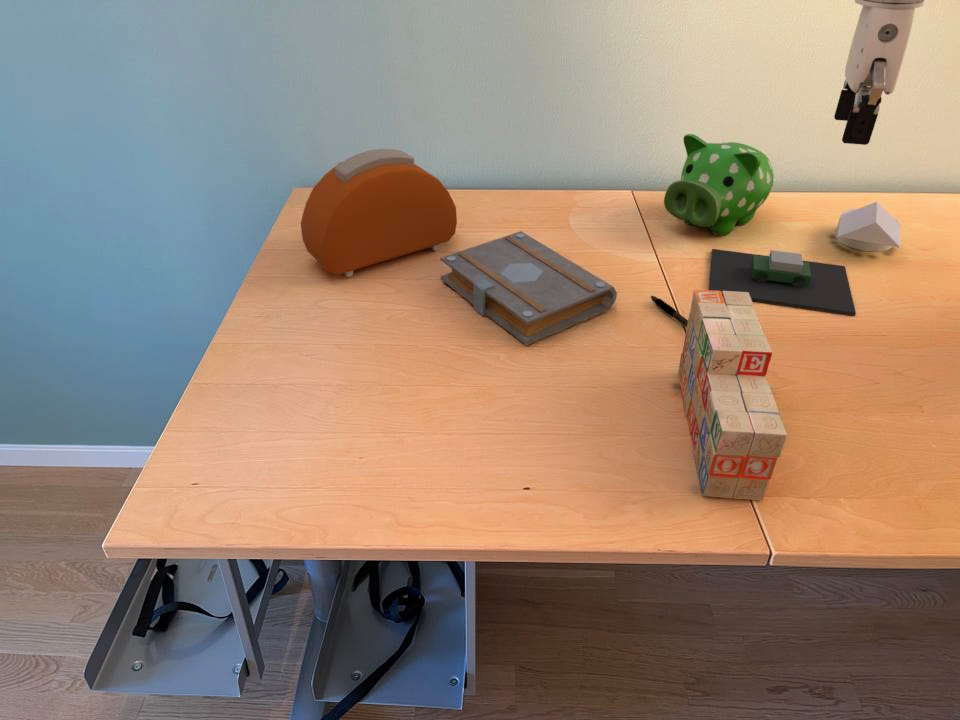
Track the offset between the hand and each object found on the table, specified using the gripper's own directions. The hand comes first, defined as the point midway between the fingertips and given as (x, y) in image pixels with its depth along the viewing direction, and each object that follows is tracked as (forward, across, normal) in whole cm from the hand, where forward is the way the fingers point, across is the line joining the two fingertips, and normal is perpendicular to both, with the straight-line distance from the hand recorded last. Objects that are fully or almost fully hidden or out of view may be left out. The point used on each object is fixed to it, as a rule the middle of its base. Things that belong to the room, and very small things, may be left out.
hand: (850, 131), depth 95 cm
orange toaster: (+21, -12, +66) cm, 70 cm away
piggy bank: (+22, +14, +14) cm, 30 cm away
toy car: (+20, -2, +5) cm, 20 cm away
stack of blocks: (+22, -41, +13) cm, 48 cm away
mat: (+22, -4, +4) cm, 23 cm away
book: (+22, -19, +40) cm, 50 cm away
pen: (+22, -20, +18) cm, 34 cm away
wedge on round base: (+22, +13, -10) cm, 28 cm away
